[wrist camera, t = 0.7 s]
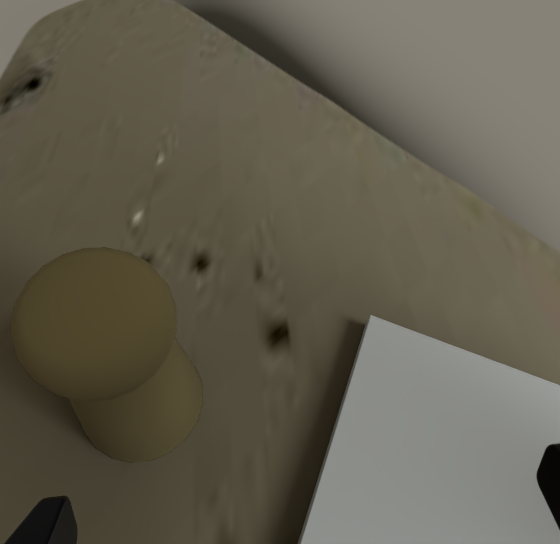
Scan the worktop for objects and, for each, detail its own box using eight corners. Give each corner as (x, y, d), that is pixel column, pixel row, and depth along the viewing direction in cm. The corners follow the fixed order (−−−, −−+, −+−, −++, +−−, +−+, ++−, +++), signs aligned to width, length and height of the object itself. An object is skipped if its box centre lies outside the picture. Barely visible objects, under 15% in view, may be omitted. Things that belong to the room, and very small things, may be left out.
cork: (61, 381, 24) (-49, 269, 15) (169, 323, 26) (133, 193, 17) (111, 489, 22) (18, 439, 12) (225, 417, 24) (219, 327, 14)
